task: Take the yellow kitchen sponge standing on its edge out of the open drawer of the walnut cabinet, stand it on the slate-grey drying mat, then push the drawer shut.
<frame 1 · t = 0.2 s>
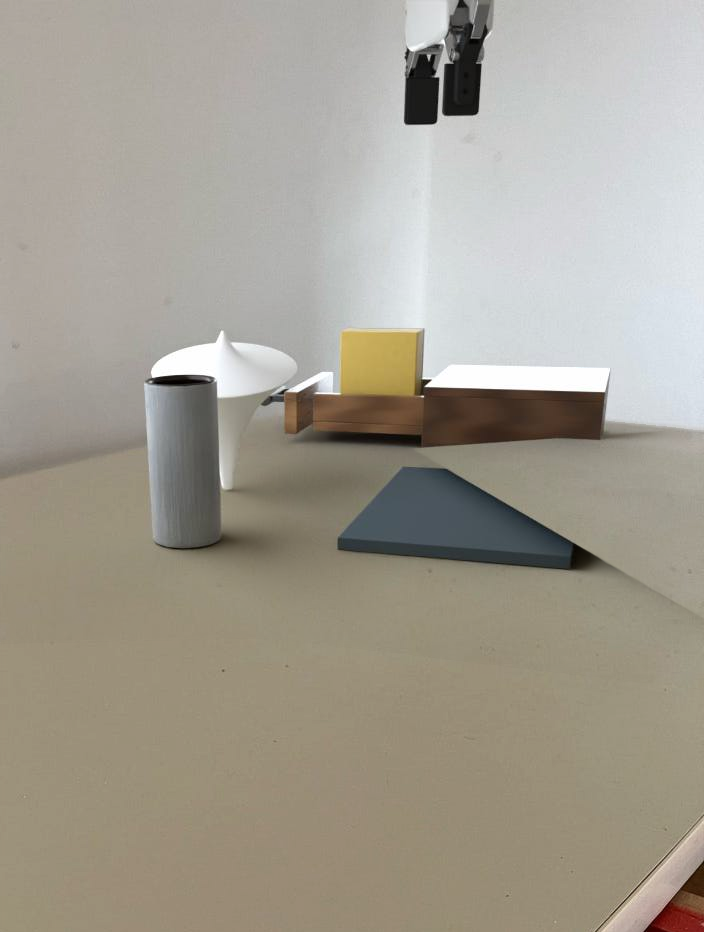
hand: (439, 120, 94), 27 cm above the table, tool pointing down, fingers open, 9 cm apart
planter: (187, 541, 68), on the table
white spinning top: (227, 492, 80), on the table
cabinet: (515, 440, 93), on the table
mat: (473, 515, 71), on the table
drawer: (352, 403, 97), point 3 cm above the table, slide at 11.5 cm, touching sponge
sponge: (380, 412, 97), point 2 cm above the table, touching drawer
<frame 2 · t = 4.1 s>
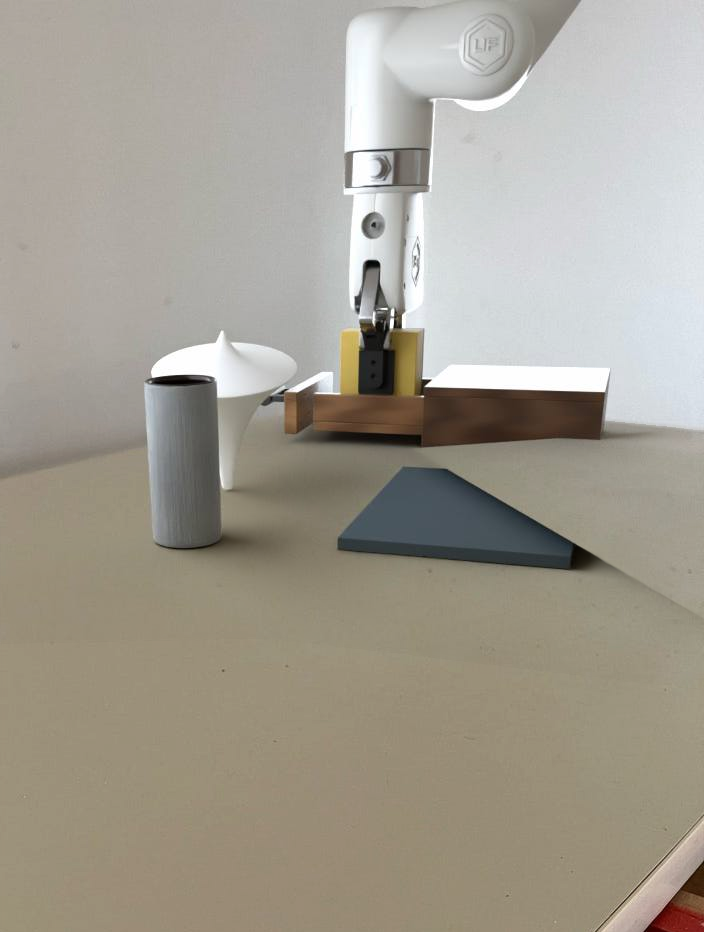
hand: (381, 389, 96), 4 cm above the table, tool pointing down, fingers closed on sponge, 3 cm apart
sponge: (380, 412, 97), point 2 cm above the table, touching drawer, gripper
everything else where it was.
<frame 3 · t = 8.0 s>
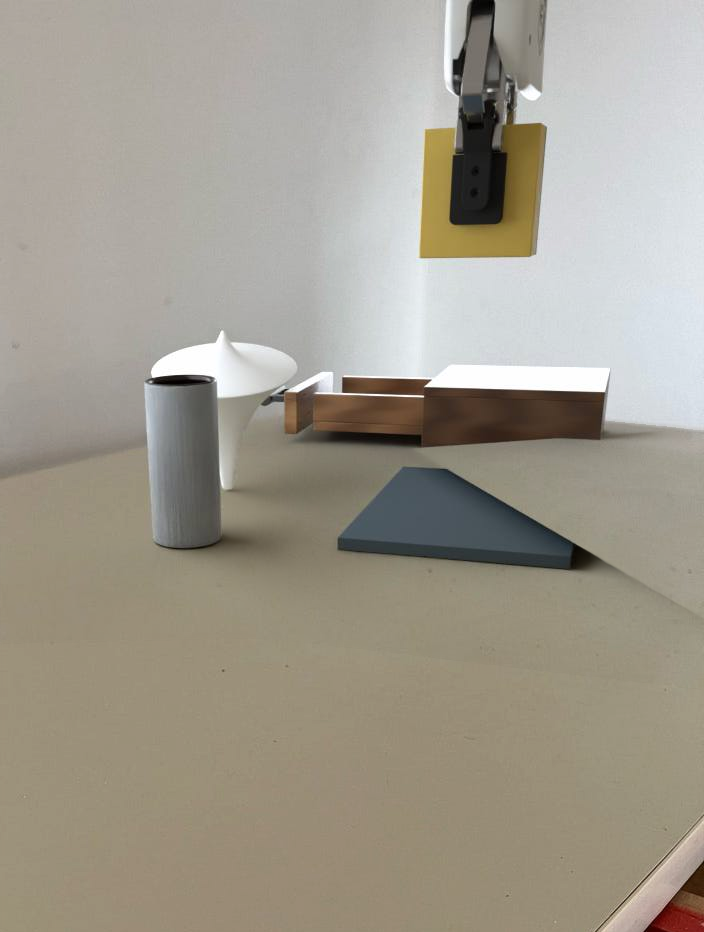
hand: (480, 220, 66), 19 cm above the table, tool pointing down, fingers closed on sponge, 3 cm apart
drawer: (352, 403, 97), point 3 cm above the table, slide at 11.5 cm
sponge: (477, 256, 67), point 17 cm above the table, touching gripper
everything else where it was.
when the fingers open (3 cm above the table, at t = 11.9 s): sponge stays where it is, resting on mat.
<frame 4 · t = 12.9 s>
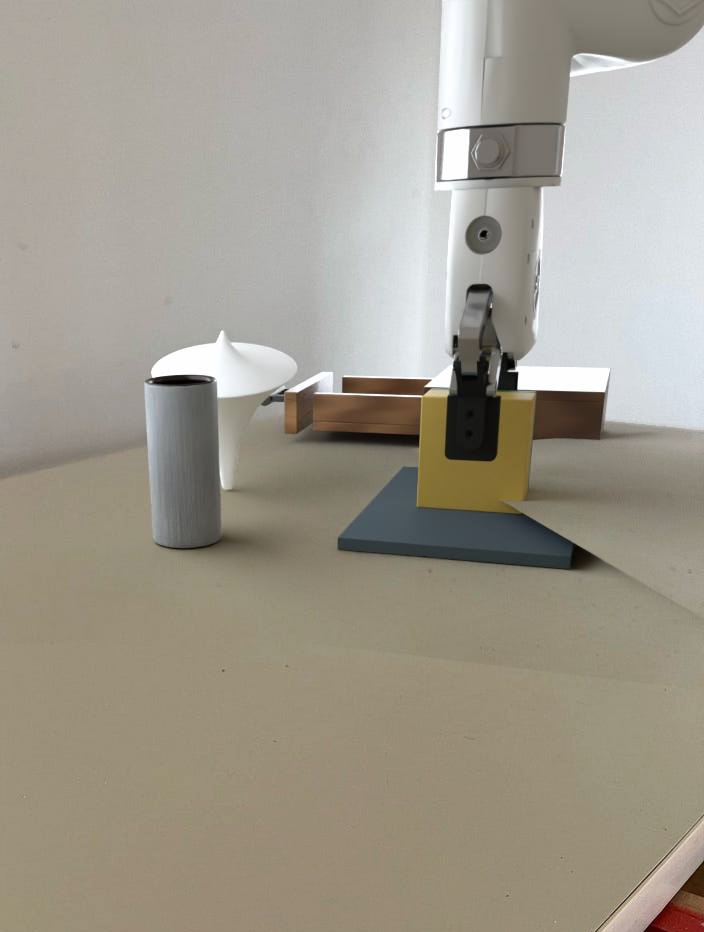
hand: (481, 443, 69), 5 cm above the table, tool pointing down, fingers open, 9 cm apart
sponge: (472, 504, 71), point 1 cm above the table, touching mat
everything else where it was.
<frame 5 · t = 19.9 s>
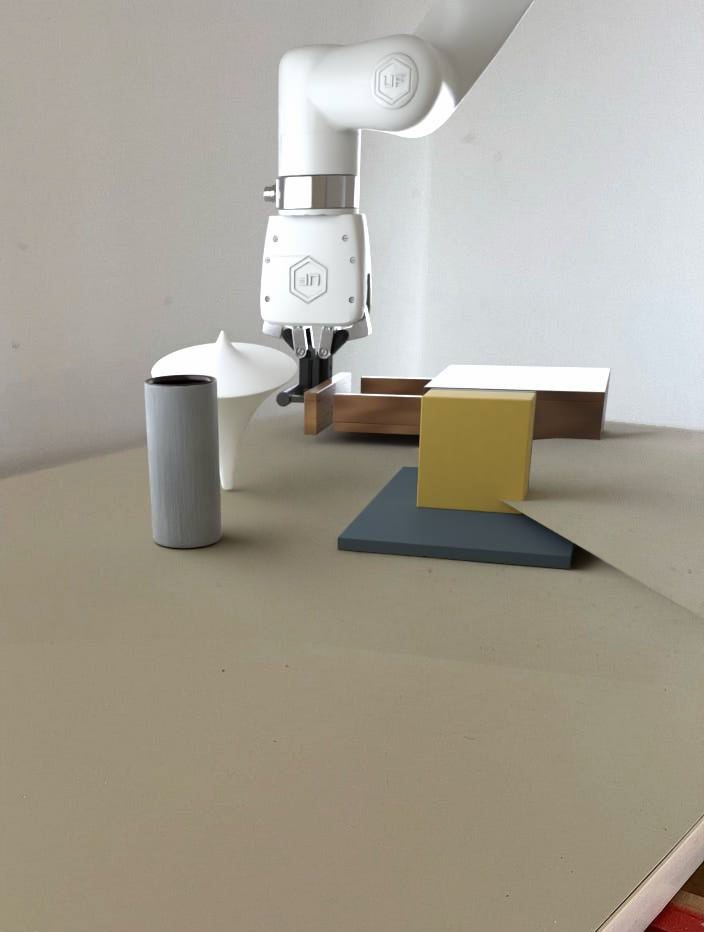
hand: (315, 397, 103), 2 cm above the table, tool pointing down, fingers closed
drawer: (372, 403, 97), point 3 cm above the table, slide at 9.6 cm, touching gripper
everything else where it was.
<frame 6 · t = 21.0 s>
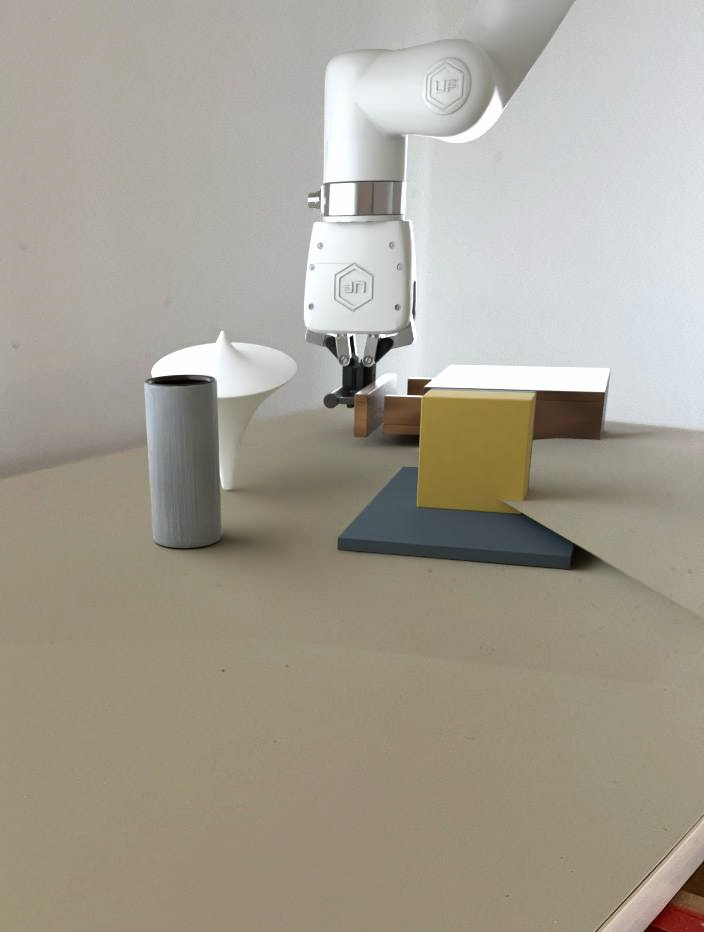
hand: (358, 405, 102), 2 cm above the table, tool pointing down, fingers closed
drawer: (421, 405, 95), point 3 cm above the table, slide at 5.0 cm, touching gripper
everything else where it was.
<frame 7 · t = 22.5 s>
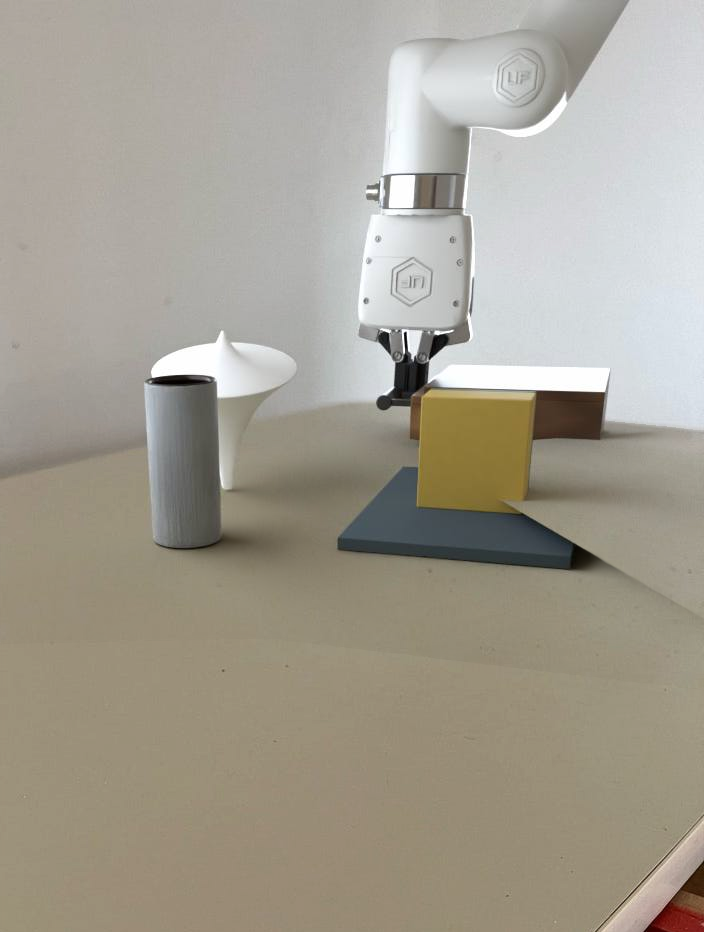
hand: (409, 403, 100), 2 cm above the table, tool pointing down, fingers closed
drawer: (476, 407, 93), point 3 cm above the table, slide at 0.0 cm, touching cabinet, gripper
everything else where it was.
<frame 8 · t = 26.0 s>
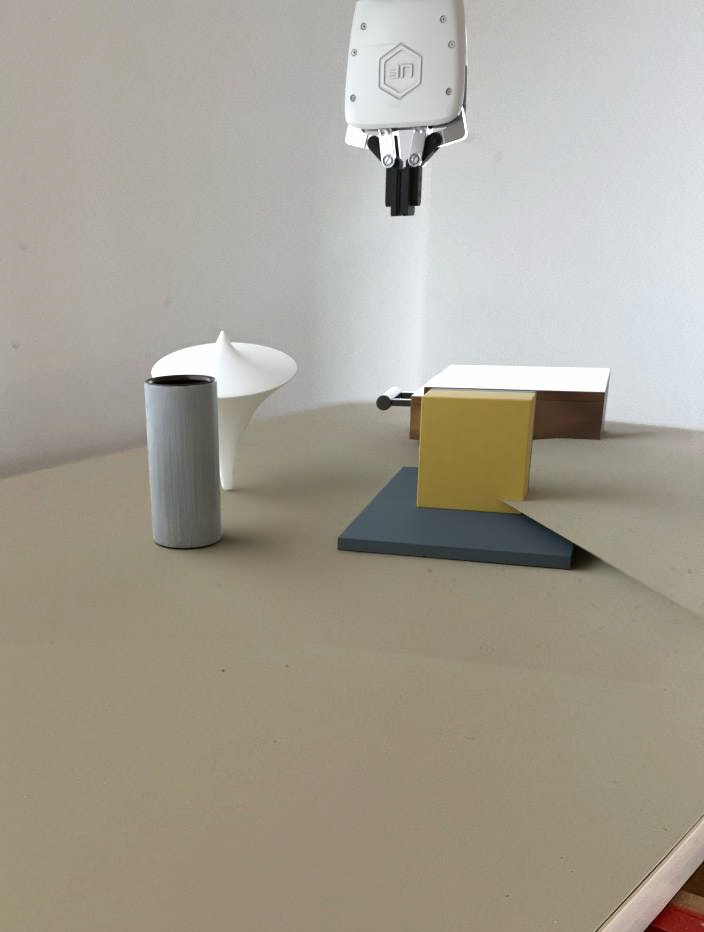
hand: (402, 215, 94), 19 cm above the table, tool pointing down, fingers closed
drawer: (476, 407, 93), point 3 cm above the table, slide at 0.0 cm, touching cabinet
everything else where it was.
at the end: sponge inside the target area on the mat (0.2 cm from its centre), point 0.8 cm above the mat's base; sponge tilted 0°; drawer slide at 0.0 cm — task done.
